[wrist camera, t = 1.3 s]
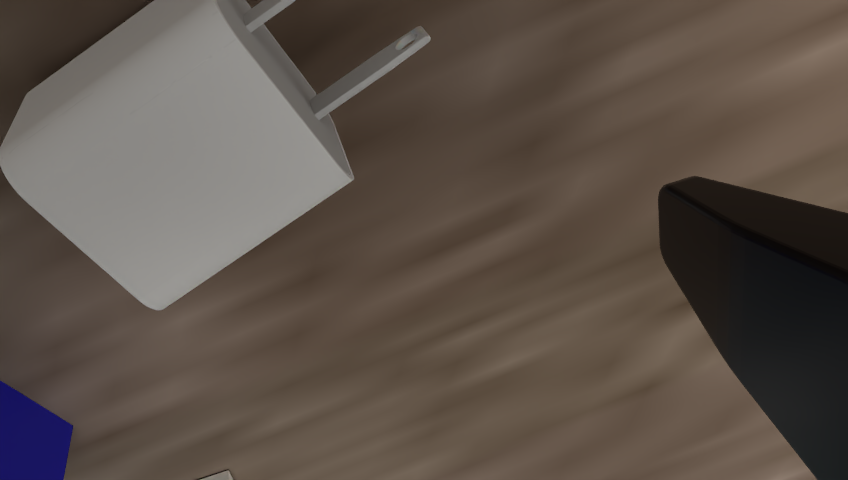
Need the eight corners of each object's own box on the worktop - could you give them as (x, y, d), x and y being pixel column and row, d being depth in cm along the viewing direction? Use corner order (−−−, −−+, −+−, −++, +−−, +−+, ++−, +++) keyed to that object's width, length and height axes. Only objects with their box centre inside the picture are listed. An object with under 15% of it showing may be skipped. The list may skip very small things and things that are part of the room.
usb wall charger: (32, 80, 16) (-11, 169, 12) (319, -130, 15) (355, -95, 12) (171, 218, 18) (166, 324, 15) (426, 41, 17) (482, 110, 14)
